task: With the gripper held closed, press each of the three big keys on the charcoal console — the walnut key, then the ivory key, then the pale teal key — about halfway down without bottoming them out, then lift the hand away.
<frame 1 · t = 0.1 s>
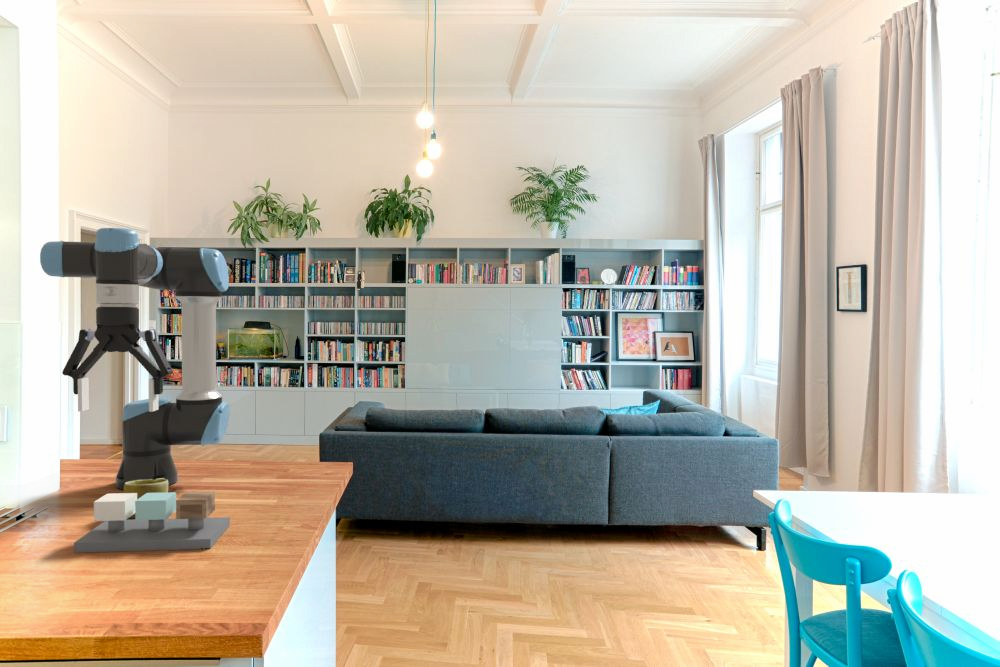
hand: (118, 410, 136), 28 cm above the worktop, fingers open, 13 cm apart
console: (156, 538, 142), on the worktop
ivory key: (116, 506, 140), point 7 cm above the worktop, slide at 0.0 cm
mug: (150, 514, 159), on the worktop
walnut key: (195, 505, 142), point 7 cm above the worktop, slide at 0.0 cm
teal key: (156, 505, 141), point 7 cm above the worktop, slide at 0.0 cm
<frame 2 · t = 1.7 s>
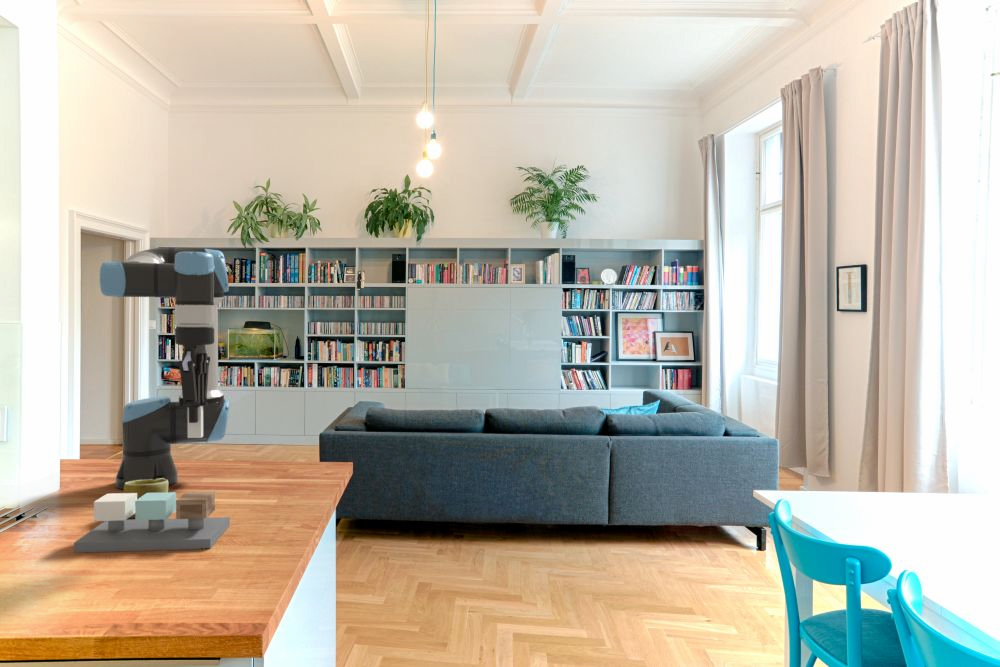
hand: (195, 437, 142), 22 cm above the worktop, fingers closed
nothing on the worktop moved.
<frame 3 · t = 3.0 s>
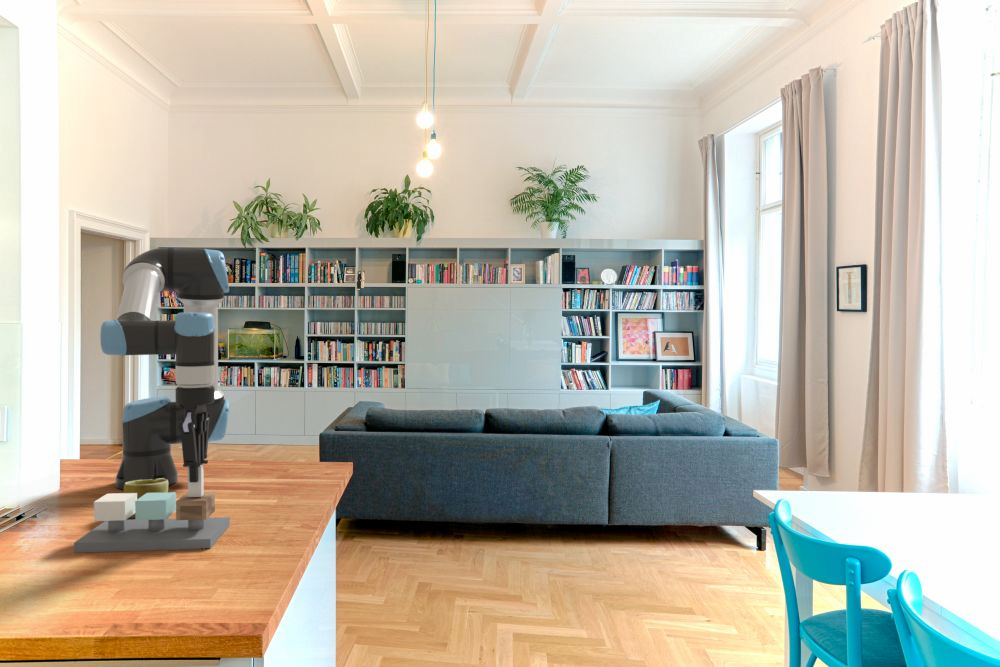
hand: (195, 495, 142), 9 cm above the worktop, fingers closed
walnut key: (195, 506, 142), point 7 cm above the worktop, slide at 0.3 cm, touching gripper
everything else where it was.
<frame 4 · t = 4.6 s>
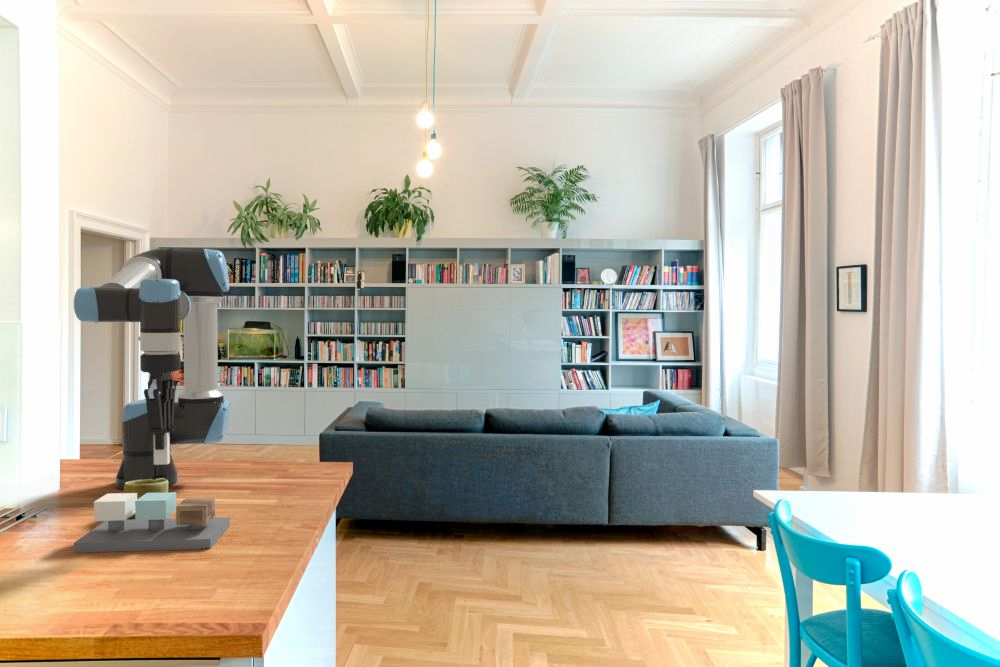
hand: (161, 463, 141), 16 cm above the worktop, fingers closed
walnut key: (195, 510, 142), point 6 cm above the worktop, slide at 1.3 cm
everything else where it was.
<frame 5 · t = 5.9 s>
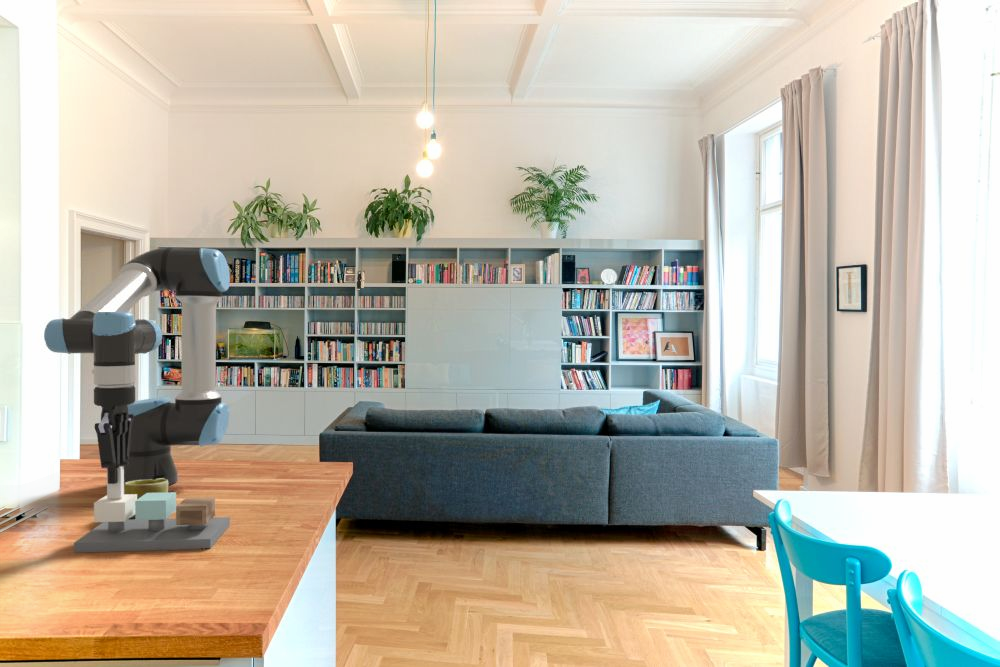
hand: (115, 497, 140), 9 cm above the worktop, fingers closed
ivory key: (116, 507, 140), point 7 cm above the worktop, slide at 0.3 cm, touching gripper
everything else where it was.
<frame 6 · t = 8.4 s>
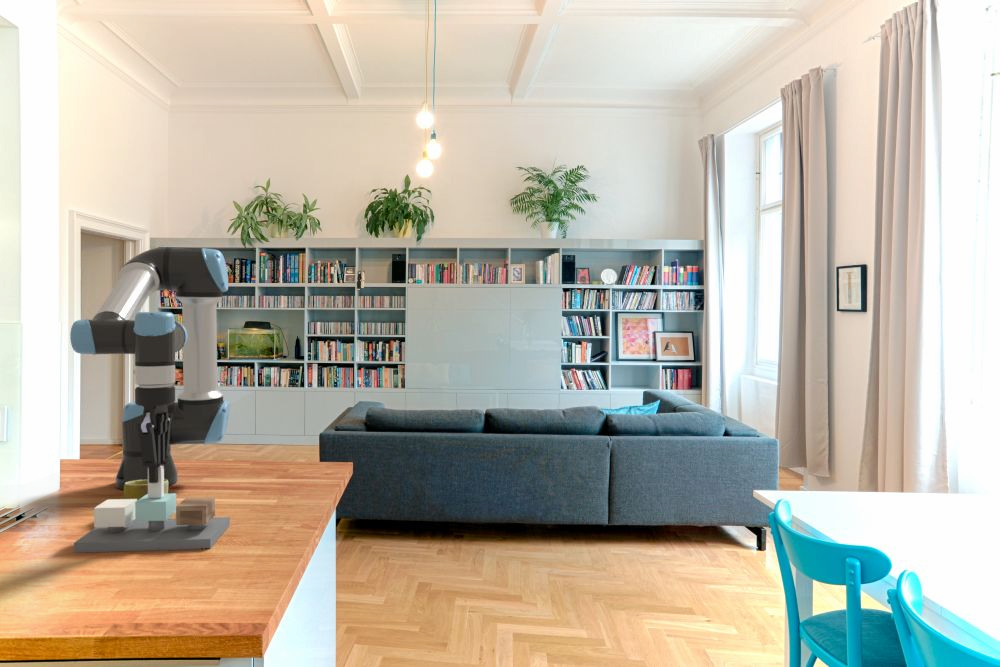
hand: (156, 496, 141), 9 cm above the worktop, fingers closed
ivory key: (116, 512, 140), point 6 cm above the worktop, slide at 1.3 cm
teal key: (156, 507, 141), point 7 cm above the worktop, slide at 0.3 cm, touching gripper
everything else where it was.
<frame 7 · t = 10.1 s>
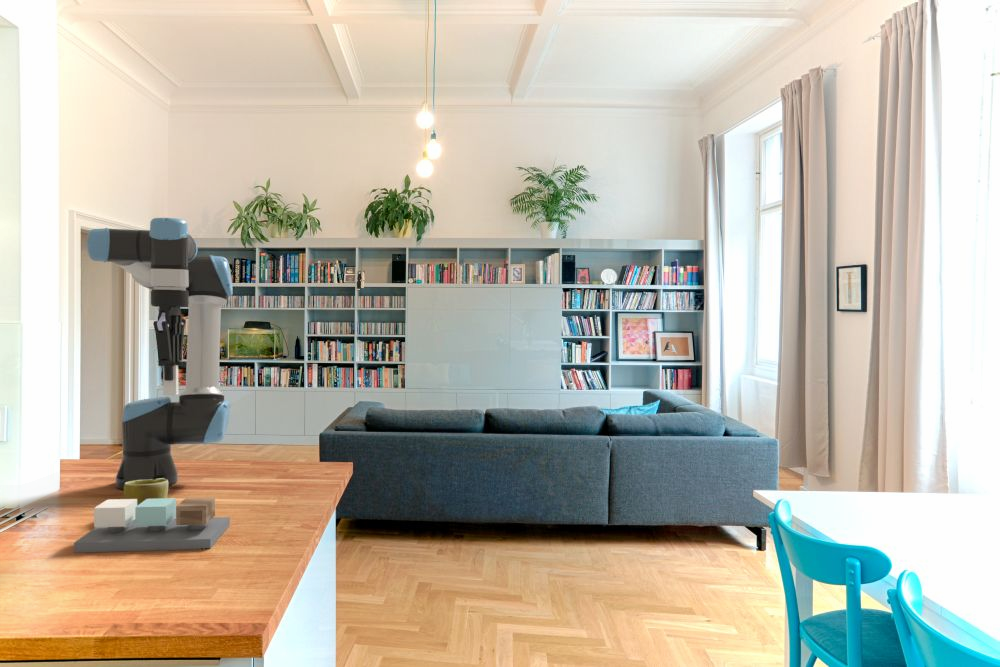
hand: (171, 394, 149), 29 cm above the worktop, fingers closed
teal key: (156, 511, 141), point 6 cm above the worktop, slide at 1.3 cm
everything else where it was.
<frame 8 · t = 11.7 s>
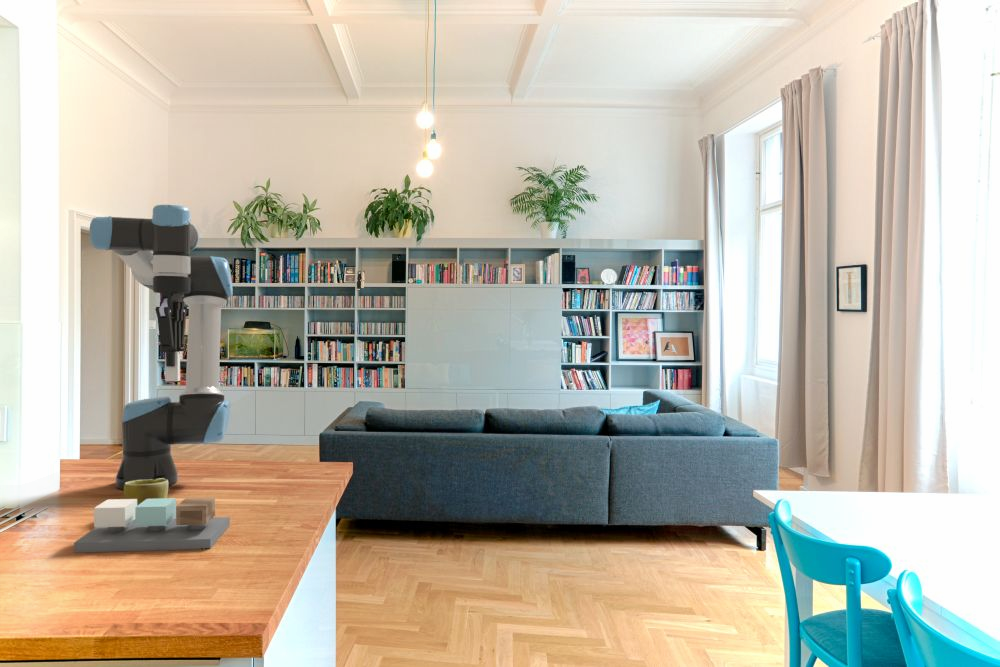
hand: (172, 380, 150), 32 cm above the worktop, fingers closed
nothing on the worktop moved.
at the end: walnut key slide at 1.3 cm; ivory key slide at 1.3 cm; teal key slide at 1.3 cm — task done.
